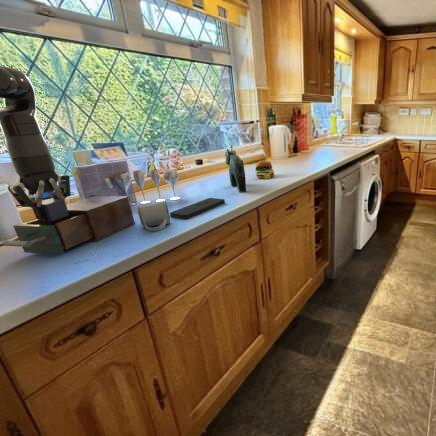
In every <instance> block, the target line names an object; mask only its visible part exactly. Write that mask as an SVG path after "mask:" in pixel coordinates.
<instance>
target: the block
mask: <svg viewBox="0 0 436 436" xmlns="http://www.w3.org/2000/svg"><path fill="white" fill-rule="evenodd" d="M65 203H66V201H65V202H64V199H53V198H50V199H46V200H42V207H44V210H45V212H46V215H47V217H48V220H46V221H54V220H57V219H60V218H63V217H66V216H69V213H68V210H67V207H66V205H67V204H66V205H65ZM38 221H40V220H39V219H38Z"/></svg>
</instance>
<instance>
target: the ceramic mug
mask: <svg viewBox="0 0 436 436" xmlns="http://www.w3.org/2000/svg"><path fill="white" fill-rule="evenodd" d="M137 208H138V209H137V213H138V218H139V221H140V225H142V226H143V227H144V228H145V229H146V230H147V231H148V232H158V231H161V230H163V229H164V228H165V227H166V225H168V224H171V222H172V221H171V216H170V212H169V208H168V204H167V202H166V200H165V201H160V202H156V201H155V202H150V203H146V204H141V205H139V207H137Z"/></svg>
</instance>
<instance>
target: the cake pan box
mask: <svg viewBox="0 0 436 436" xmlns="http://www.w3.org/2000/svg"><path fill="white" fill-rule="evenodd" d="M70 170H71V174H72V177H73V180H74V183H75V187H76V190H77V193H78V197H79V199H80V200H83V199H86V198H90V197H93V196H126V193H125V191H124V190H123V189H122V188H121V187H119V186H118V185H117V183H116V181H115V179H114V173H115V174H122V173H121V172H128V173H129V175H130V180H131V182H130V185H129V187H128V190H127V194H128V199H129V202H130V203H137V202H136V201H137V196H136V193H135V189H134V184H133V182H132V181H133V180H132V177H131V173H130V168H129V164H128V161H127V160H126V159H124V160H116V161H107V162H98V163H93V164H85V165H77V166H71V167H70ZM109 177H111V178H112V181H113V187H112V188H107V187H106V186H105V184H104V178H109ZM80 200H79V201H80Z"/></svg>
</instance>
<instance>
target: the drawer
mask: <svg viewBox="0 0 436 436" xmlns="http://www.w3.org/2000/svg"><path fill="white" fill-rule="evenodd" d="M12 226H13V228H14V229H13V230H14V231H15V233H16V236H17V237H15V238H13V239H10V240H7V239H5V240H3V241H2V243H1V244H2V246H3V247H15V248H17V247H20V248H22V250H23V253H26V254H40V255H41V254H43V255H59V256H61V255H62V254H64V253H65V251H64V250H68V249H71V248H73V247H75V246H77V245H79V244H82V243H84V242H87V241H86V240H88V239H91V238H93V237H94V236H93V233H92V230H91V227H90V224H89V221H88V218H87V215H86V213H69V216H66V217H63V218H60V219H57V220H54V221H38V219H37V218H36V219H34V220H31V221H28V222H26V223H17V224H14V225H12Z"/></svg>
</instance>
